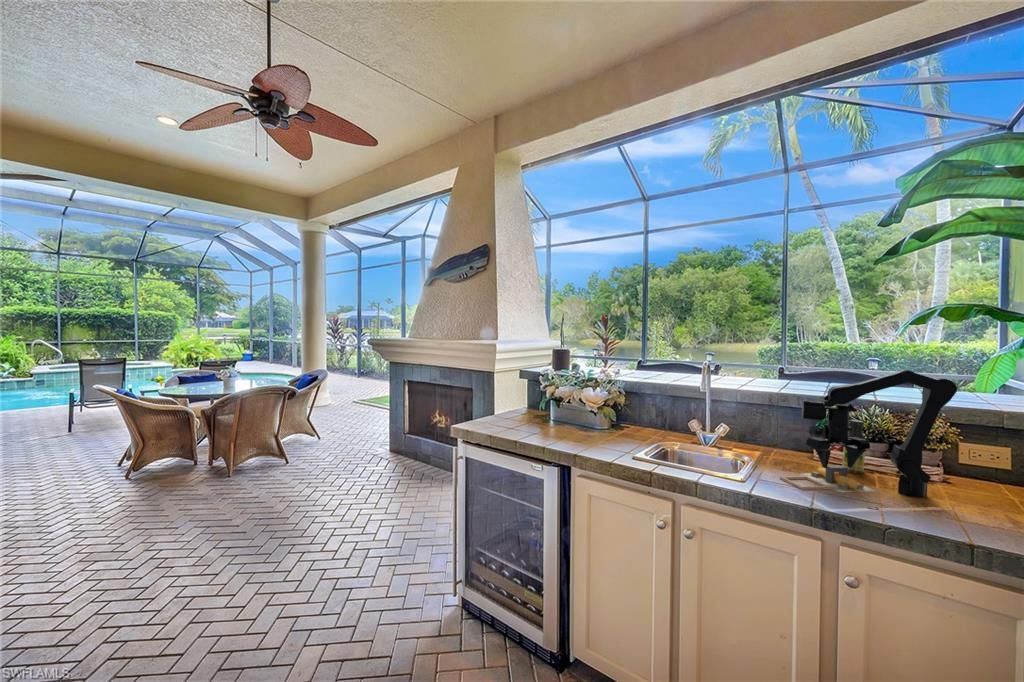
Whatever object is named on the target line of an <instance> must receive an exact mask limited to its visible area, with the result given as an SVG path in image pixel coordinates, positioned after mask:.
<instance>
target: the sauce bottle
mask: <svg viewBox="0 0 1024 682" xmlns="http://www.w3.org/2000/svg"><path fill="white" fill-rule="evenodd" d="M864 423H865V422H864V421H862V420H859V419H849V427H852V431H849V437H858V438H861V439H865V440H867V439H866V437H865V435H864V433H863V430H864V429H863V427H864V426H865V425H864ZM865 458H866V451H864V452H863V454H862V455H861V456H860V457H859V458H858V459H857V461H856V462H855V464H854V465H853V466H852V468H849V467H848V465H847V450H846V448H845V447H844V446H843V453H842V464H841V465H842V466H844V467H847V468H848V473H852V474H863V473H864V469H865V462H866V461H865V460H866V459H865Z"/></svg>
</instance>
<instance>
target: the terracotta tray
mask: <svg viewBox="0 0 1024 682" xmlns="http://www.w3.org/2000/svg"><path fill="white" fill-rule="evenodd" d="M779 480H782V481H784V482H786V483H788V485H789V484H790V485H792V486H794V487H795V488H798V489H800V490H802V491H803V490H804V491H805V490H807V491H809V490H810V491H811V490H813V491H814V490H832V488H831V487H830V486H828V485H826V484H823V483H821V482H819V481H817V480H814V479H812V478H810V477H808V476H803V475H789V476H788V475H785V476H783V475H781V476H779ZM793 480H807V481H809V482H811V483H813V484H816V485H801V484H799V483H797V482H794V481H793Z"/></svg>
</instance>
